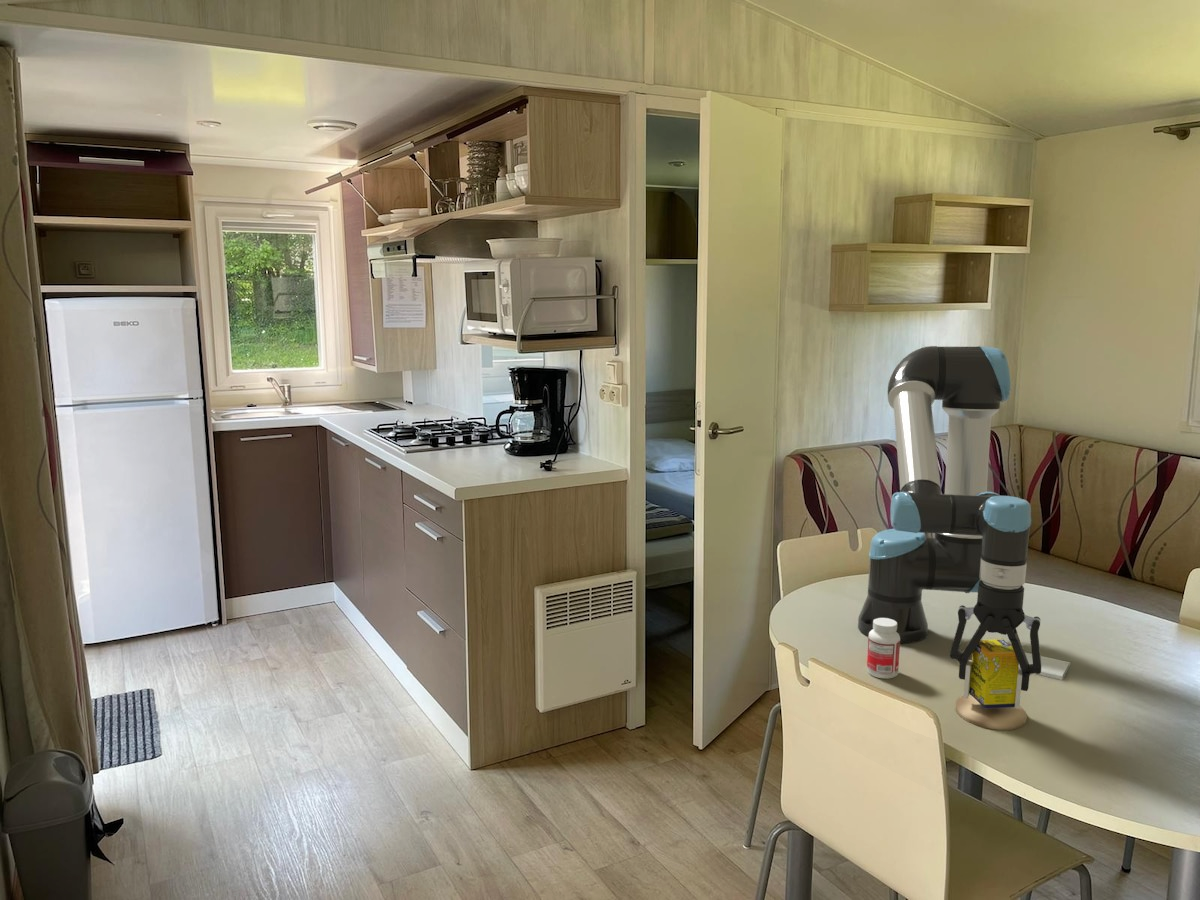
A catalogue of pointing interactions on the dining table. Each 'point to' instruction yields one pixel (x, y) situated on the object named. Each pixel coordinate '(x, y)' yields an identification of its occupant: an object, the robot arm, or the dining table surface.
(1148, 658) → the dining table surface
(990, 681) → the supplement box
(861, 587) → the dining table surface
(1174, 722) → the dining table surface
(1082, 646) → the dining table surface
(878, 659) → the pill bottle
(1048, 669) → the external hard drive
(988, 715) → the disc
